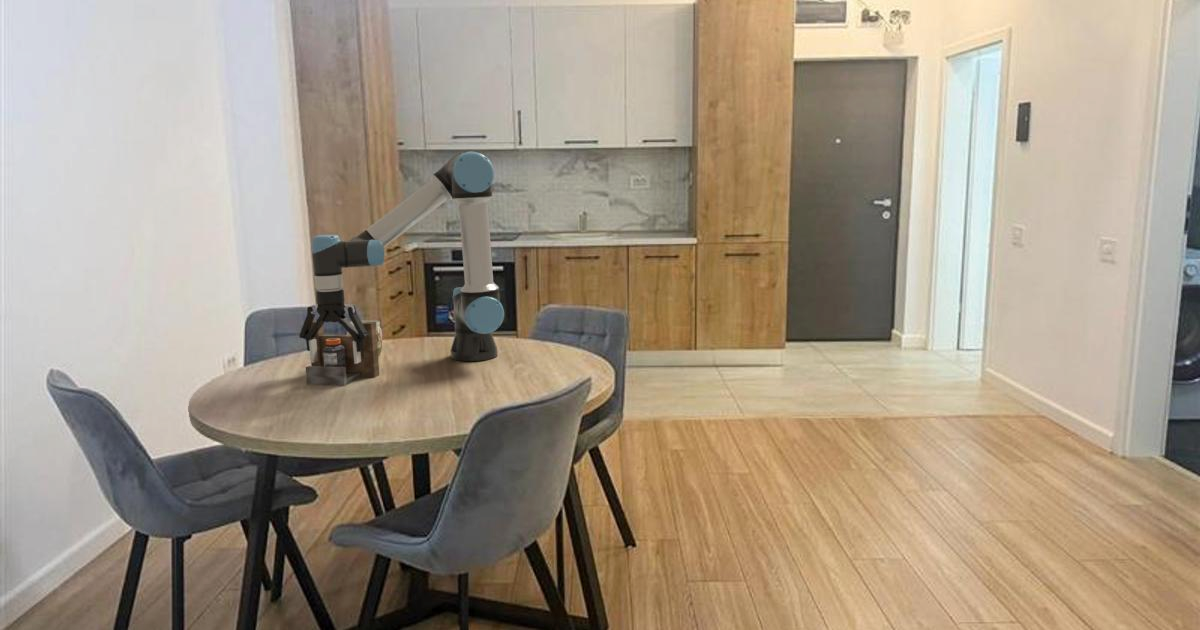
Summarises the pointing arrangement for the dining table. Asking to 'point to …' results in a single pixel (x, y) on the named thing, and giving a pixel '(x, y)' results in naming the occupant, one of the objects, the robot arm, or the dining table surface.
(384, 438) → the dining table surface
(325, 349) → the pill bottle
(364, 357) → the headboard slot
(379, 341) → the pitcher
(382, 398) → the dining table surface
